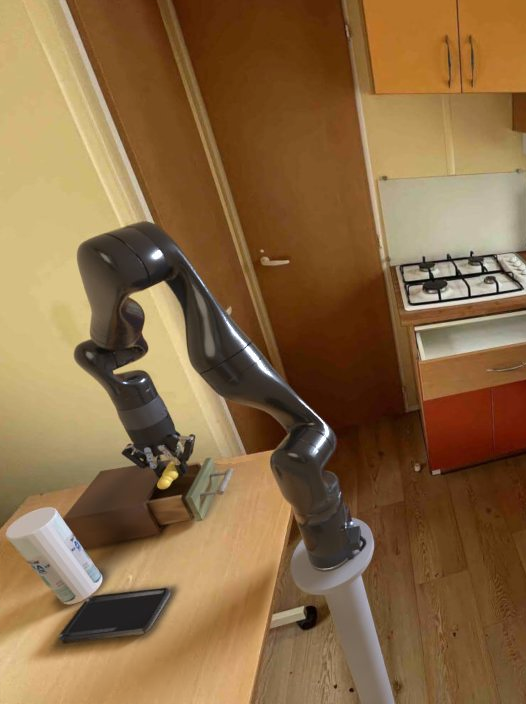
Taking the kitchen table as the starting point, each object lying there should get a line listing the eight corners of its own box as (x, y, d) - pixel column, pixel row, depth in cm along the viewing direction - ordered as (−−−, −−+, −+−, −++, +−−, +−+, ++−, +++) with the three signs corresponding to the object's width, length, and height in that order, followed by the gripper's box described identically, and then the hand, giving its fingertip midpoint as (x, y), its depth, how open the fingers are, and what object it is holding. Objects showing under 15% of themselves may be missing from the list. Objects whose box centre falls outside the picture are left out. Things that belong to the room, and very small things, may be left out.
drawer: (242, 475, 109) (233, 453, 106) (226, 515, 99) (215, 492, 95) (160, 490, 105) (148, 467, 102) (134, 533, 95) (120, 509, 91)
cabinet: (184, 487, 107) (171, 459, 103) (159, 533, 96) (143, 504, 91) (117, 499, 104) (100, 470, 100) (83, 548, 92) (61, 519, 88)
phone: (88, 596, 82) (171, 587, 84) (91, 599, 83) (173, 590, 84) (54, 641, 75) (144, 630, 77) (57, 644, 76) (147, 634, 77)
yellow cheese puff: (174, 488, 94) (166, 479, 92) (159, 493, 93) (151, 484, 92) (191, 458, 102) (184, 449, 100) (178, 462, 102) (170, 454, 100)
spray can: (54, 595, 83) (-2, 529, 74) (94, 567, 89) (47, 501, 80) (69, 611, 81) (13, 544, 72) (110, 581, 86) (63, 515, 77)
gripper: (95, 434, 85) (130, 494, 93) (175, 422, 88) (202, 481, 96) (116, 411, 91) (147, 469, 99) (190, 401, 95) (214, 457, 102)
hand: (174, 474), depth 98 cm, fingers closed on yellow cheese puff, 3 cm apart
